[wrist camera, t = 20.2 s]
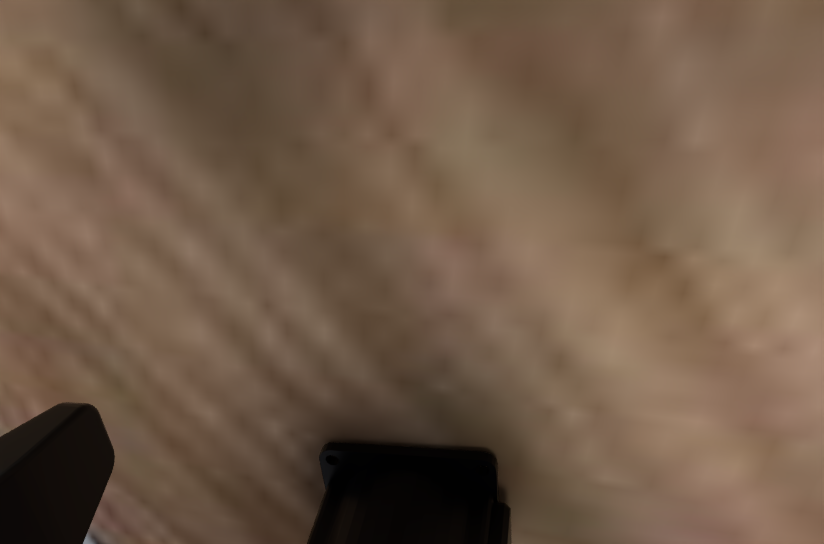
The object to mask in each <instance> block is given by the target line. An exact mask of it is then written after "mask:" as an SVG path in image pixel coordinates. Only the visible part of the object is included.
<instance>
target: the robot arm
mask: <svg viewBox="0 0 824 544" xmlns="http://www.w3.org/2000/svg"><path fill="white" fill-rule="evenodd" d="M331 455H333V456H336V457H333V456H331ZM114 458H115V455H114V449H113V446H112V444H111V441H110V439H109V436H108V434H107V431H106V429H105V426H104V424H103V421H102V419H101V416H100V414H99V412H98V410H97V409H96V408H95V407H94V406H93V405H90V404H87V403H69V402H66V403H60V404H58V405H56V406H54V407H52V408H50V409H48V410H47V411H45V412H43V413H41V414H40V415H38V416H36V417H34V418H33V419H31V420H29V421H27V422H26V423H24V424H22V425H20V426H19V427H17V428H15V429H13V430H11V431H10V432H8V433H6V434H4V435H3V436H1V437H0V544H83V542H84V539H85V537H86V534H87V532H88V529H89V527H90V524H91V522H92V520H93V517H94V515H95V512H96V510H97V507H98V505H99V502H100V500H101V497H102V495H103V492H104V490H105V487H106V485H107V483H108V480H109V478H110V475H111V473H112V470H113V466H114ZM319 460H320V465H321V470H322V475H323V479H324V484H325V489H326V491H325V494H324V497H323V500H322V502H321V505H320V508H319V511H318V514H317V516H316V519H315V522H314V525H313V528H312V531H311V533H310V536H309V539H308V542H307V544H511V511H510V508H509V507H508V505H507V504H506V503H504V502H499V495H498V469H497V460H496V458H495V457H494V456H493V455H491V454H489V453H486V452H477V451H461V450H445V449H430V448H414V447H398V446H382V445H366V444H350V443H334V442H333V443H327V444H325V445H324V446H323V448H322V451H321V453H320V457H319ZM479 465H484V466H486V467H480V466H479Z"/></svg>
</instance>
